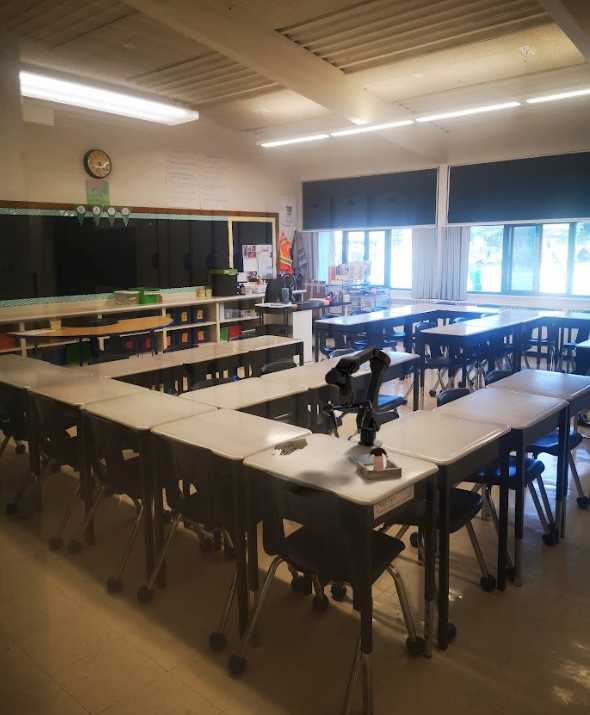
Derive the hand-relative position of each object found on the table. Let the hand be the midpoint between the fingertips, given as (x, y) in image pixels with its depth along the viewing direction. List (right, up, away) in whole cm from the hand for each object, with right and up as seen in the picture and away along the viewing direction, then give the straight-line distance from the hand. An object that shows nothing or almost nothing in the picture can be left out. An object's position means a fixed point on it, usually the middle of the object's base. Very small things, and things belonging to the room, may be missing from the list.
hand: (348, 428), depth 230 cm
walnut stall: (+10, -15, -9) cm, 20 cm away
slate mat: (+6, -13, +4) cm, 15 cm away
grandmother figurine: (+10, -15, -7) cm, 20 cm away
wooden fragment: (-22, -10, +21) cm, 33 cm away
